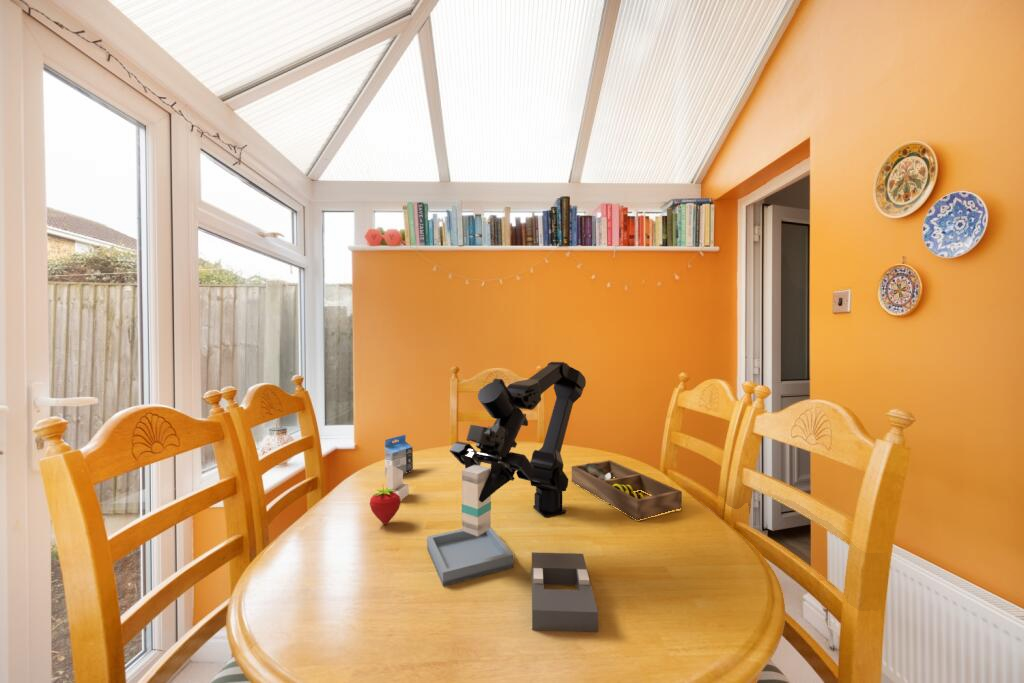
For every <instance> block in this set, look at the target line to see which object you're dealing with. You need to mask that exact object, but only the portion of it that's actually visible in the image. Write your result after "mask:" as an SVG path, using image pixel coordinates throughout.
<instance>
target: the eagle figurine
mask: <svg viewBox="0 0 1024 683" xmlns="http://www.w3.org/2000/svg"><path fill="white" fill-rule="evenodd" d="M592 463H593V462H587V463H585V464H586V465H585V467H584V470H586V472H587V473H589V474H591V475H593V476H596V477H598V479H600V480H602V481H603V480H608V479H613V477H614V476H613V470H612V472H610V473H607V474H606V475H604V474H605V473H604V471H603V469H602V468H598V467H597V466H595V465H594V464H592Z"/></svg>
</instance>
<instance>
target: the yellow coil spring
mask: <svg viewBox="0 0 1024 683" xmlns="http://www.w3.org/2000/svg"><path fill="white" fill-rule="evenodd" d="M612 486H613V487H615V488H617V489H619V490H621V491H623V492H625V493H627V494H629V495H631V496H632V497H634V498H636V499H641V498H645V497H644V495H643V493H641V492H638V493H634V492H633V489H632V487H631V486H630V485H619V484H613V485H612Z"/></svg>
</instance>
